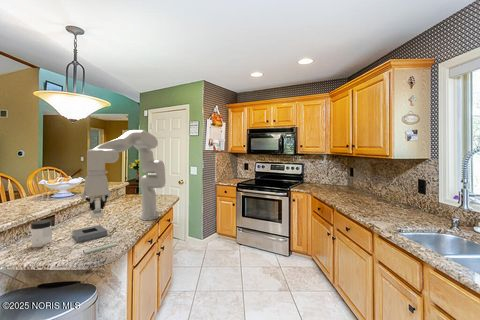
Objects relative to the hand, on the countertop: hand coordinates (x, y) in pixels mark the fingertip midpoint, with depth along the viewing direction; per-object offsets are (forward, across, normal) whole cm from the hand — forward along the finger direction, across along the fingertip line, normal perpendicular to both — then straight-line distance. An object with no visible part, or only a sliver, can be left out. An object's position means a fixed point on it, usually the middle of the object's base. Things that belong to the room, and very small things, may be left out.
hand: (97, 209), depth 117 cm
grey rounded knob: (+4, 0, 0) cm, 4 cm away
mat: (+19, 0, 0) cm, 19 cm away
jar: (+20, +20, -24) cm, 37 cm away
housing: (+19, 0, -17) cm, 26 cm away
